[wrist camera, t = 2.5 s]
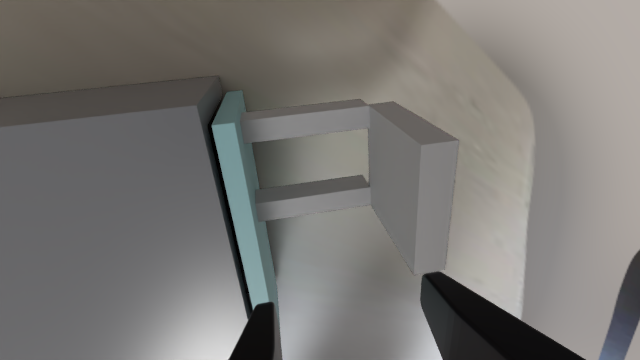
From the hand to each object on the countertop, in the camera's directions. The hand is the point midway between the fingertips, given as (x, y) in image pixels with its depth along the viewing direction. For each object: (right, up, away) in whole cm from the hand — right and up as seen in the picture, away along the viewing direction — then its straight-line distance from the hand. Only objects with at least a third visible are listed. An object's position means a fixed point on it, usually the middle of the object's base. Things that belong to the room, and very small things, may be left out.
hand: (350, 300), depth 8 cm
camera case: (-11, 0, +12) cm, 17 cm away
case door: (-1, +2, +13) cm, 13 cm away
